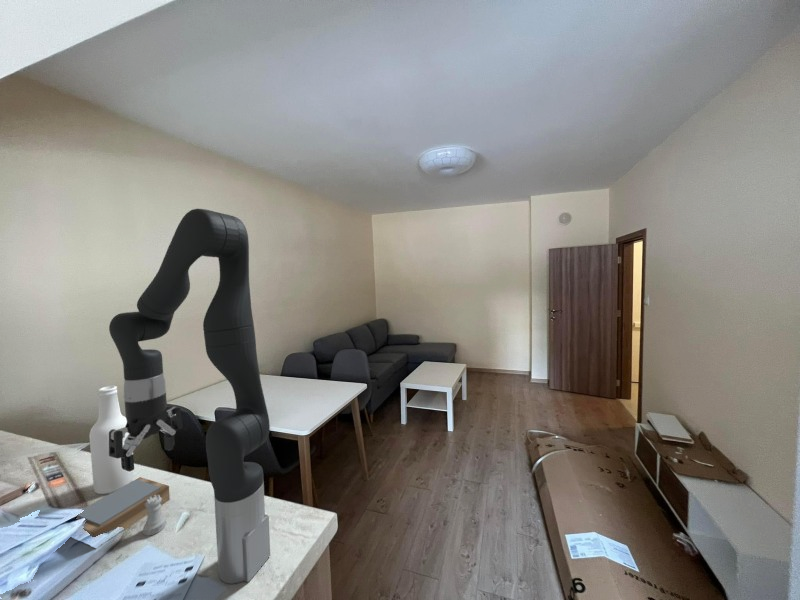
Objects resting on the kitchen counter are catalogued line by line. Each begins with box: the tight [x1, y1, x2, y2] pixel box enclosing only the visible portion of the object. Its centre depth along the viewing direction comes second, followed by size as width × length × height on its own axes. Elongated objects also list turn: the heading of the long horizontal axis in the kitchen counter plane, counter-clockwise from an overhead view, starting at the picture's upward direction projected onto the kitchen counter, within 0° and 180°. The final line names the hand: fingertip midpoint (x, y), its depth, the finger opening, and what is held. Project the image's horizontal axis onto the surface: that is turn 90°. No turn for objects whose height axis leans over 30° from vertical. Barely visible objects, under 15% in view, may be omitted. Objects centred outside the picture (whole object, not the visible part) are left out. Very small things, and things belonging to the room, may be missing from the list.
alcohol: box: [88, 385, 136, 495], centre depth 87 cm, size 9×9×30 cm
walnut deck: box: [76, 477, 171, 537], centre depth 76 cm, size 12×16×4 cm
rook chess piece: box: [142, 495, 168, 537], centre depth 72 cm, size 4×4×8 cm
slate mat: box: [77, 478, 161, 526], centre depth 76 cm, size 10×13×1 cm
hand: (150, 459), depth 71 cm, fingers open, 8 cm apart
